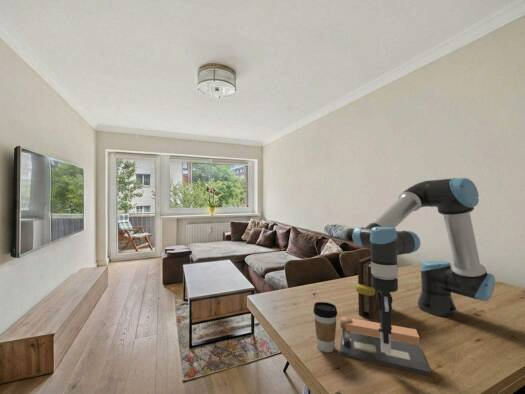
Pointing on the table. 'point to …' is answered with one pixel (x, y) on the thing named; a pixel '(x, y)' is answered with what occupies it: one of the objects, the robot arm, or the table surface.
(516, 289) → the table surface
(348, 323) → the cable arm
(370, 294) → the book
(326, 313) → the coffee cup
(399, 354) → the plate
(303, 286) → the table surface
